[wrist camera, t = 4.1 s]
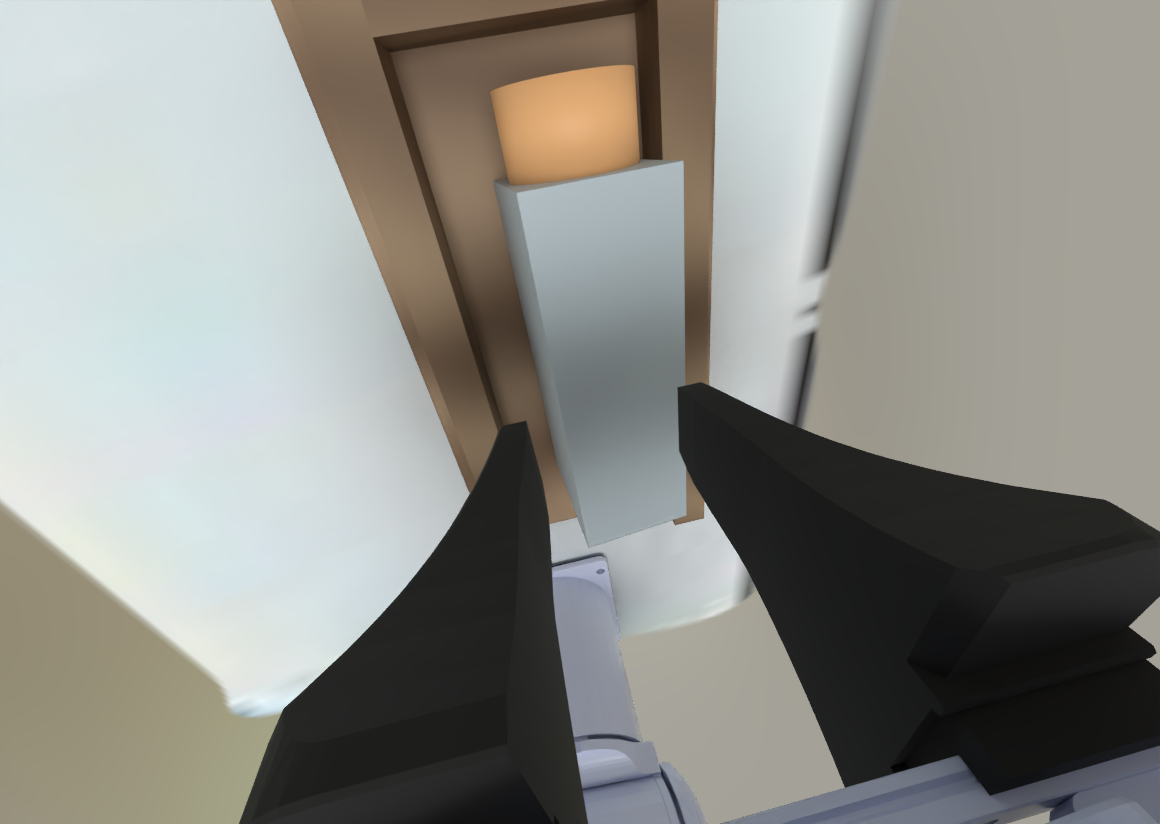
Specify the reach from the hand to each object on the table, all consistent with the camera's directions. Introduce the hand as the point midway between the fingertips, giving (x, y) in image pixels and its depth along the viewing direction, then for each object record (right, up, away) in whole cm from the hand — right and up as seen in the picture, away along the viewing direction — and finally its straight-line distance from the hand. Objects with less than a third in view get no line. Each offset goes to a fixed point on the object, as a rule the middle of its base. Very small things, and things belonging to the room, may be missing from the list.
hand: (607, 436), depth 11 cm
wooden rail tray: (-1, +4, +7) cm, 8 cm away
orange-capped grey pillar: (-1, +4, +6) cm, 7 cm away
